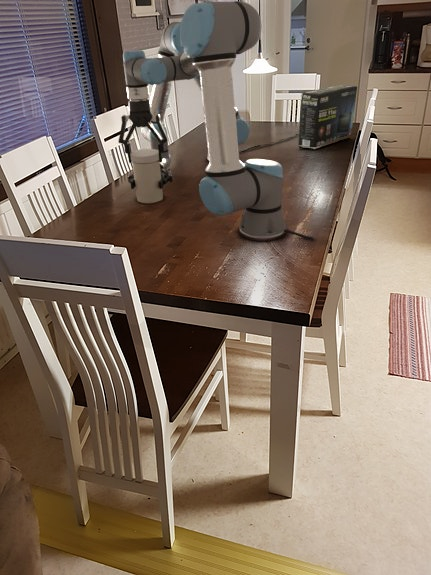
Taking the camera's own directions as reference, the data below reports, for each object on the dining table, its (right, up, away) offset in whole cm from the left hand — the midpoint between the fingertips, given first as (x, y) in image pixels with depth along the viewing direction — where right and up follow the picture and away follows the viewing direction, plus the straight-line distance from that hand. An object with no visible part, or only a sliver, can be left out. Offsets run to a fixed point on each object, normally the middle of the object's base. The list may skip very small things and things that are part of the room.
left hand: (146, 185), depth 174 cm
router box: (+85, +38, +71) cm, 117 cm away
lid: (0, +12, -2) cm, 12 cm away
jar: (+1, -4, +7) cm, 8 cm away
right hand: (0, +9, -1) cm, 9 cm away
